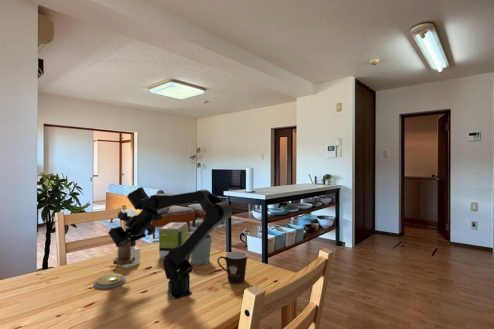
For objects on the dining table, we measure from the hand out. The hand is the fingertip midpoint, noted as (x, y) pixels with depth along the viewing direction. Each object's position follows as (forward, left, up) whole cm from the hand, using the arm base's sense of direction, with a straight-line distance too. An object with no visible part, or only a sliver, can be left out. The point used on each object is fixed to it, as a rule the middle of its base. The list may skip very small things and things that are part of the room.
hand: (121, 244), depth 108 cm
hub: (+4, -1, -14) cm, 15 cm away
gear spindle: (-1, +1, -7) cm, 7 cm away
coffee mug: (-34, +27, -14) cm, 46 cm away
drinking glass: (-35, +1, -14) cm, 38 cm away
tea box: (-31, -18, -14) cm, 38 cm away
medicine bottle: (-8, -17, -14) cm, 23 cm away
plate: (+4, -1, -14) cm, 15 cm away
